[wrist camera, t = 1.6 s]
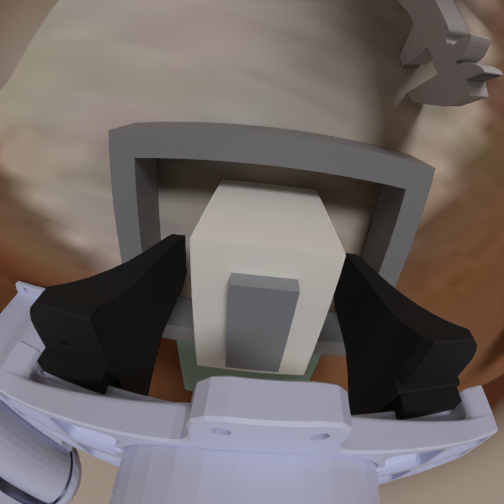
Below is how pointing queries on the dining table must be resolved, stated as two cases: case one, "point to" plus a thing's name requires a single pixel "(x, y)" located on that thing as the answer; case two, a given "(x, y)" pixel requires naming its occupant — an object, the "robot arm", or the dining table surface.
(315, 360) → the rubber mat
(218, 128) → the grey square frame
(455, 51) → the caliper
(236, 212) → the block
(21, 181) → the dining table surface
